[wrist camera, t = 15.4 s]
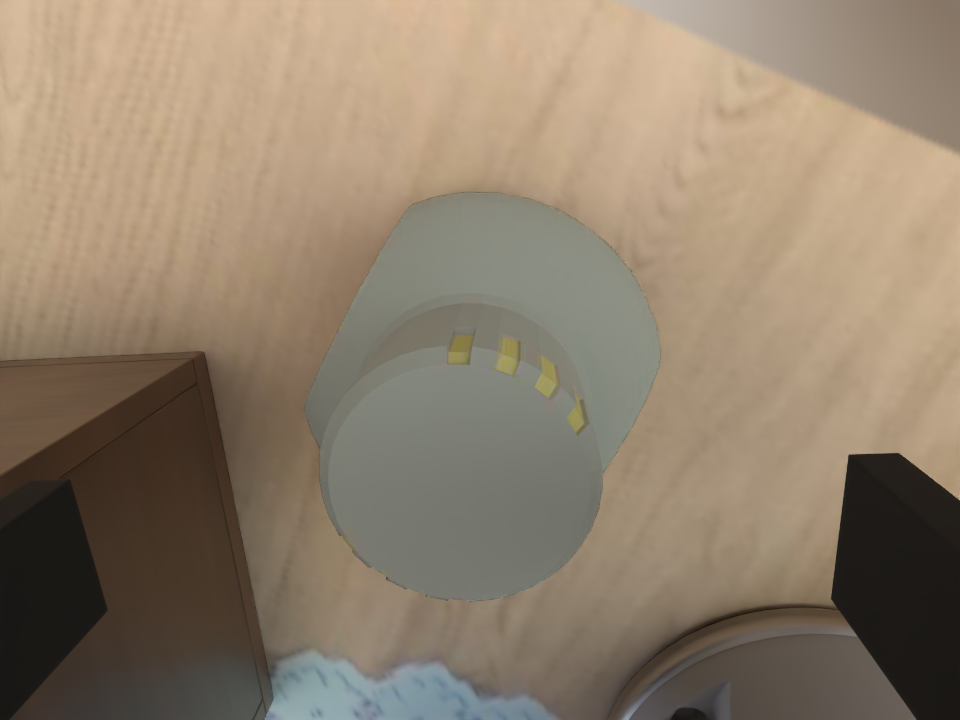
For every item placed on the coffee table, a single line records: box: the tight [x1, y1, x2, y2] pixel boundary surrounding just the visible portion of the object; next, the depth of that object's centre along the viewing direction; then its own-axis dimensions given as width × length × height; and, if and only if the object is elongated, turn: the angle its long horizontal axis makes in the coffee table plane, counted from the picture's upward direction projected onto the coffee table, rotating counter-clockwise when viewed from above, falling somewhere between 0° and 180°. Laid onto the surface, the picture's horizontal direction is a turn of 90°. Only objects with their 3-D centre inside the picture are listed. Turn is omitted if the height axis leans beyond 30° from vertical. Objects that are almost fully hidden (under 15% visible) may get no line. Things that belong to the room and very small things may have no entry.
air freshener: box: [304, 192, 661, 602], centre depth 18 cm, size 11×8×10 cm
